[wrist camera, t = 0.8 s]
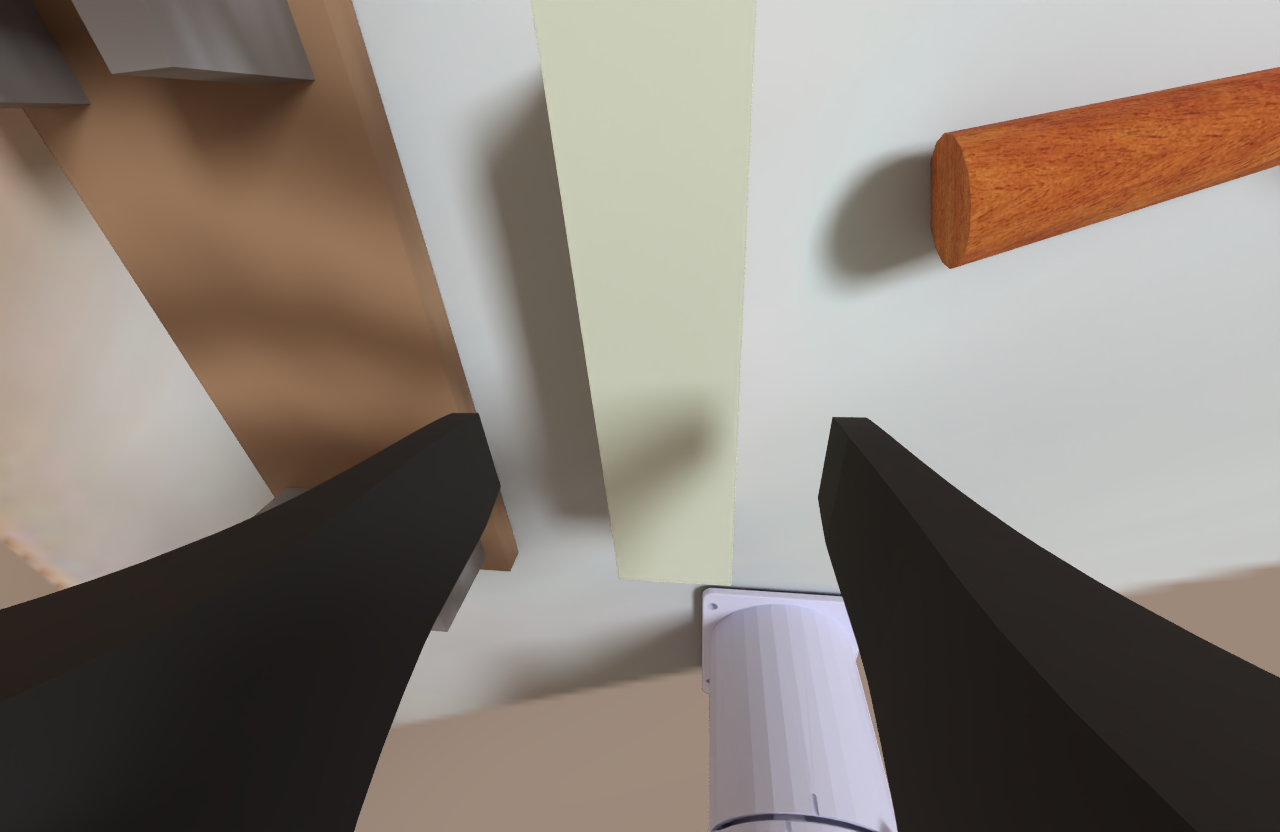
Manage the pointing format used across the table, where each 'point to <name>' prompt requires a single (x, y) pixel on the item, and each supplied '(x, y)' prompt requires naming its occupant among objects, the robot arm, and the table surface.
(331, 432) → the cradle
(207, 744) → the robot arm
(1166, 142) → the brown piece
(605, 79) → the slat
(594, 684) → the table surface
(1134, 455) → the table surface
